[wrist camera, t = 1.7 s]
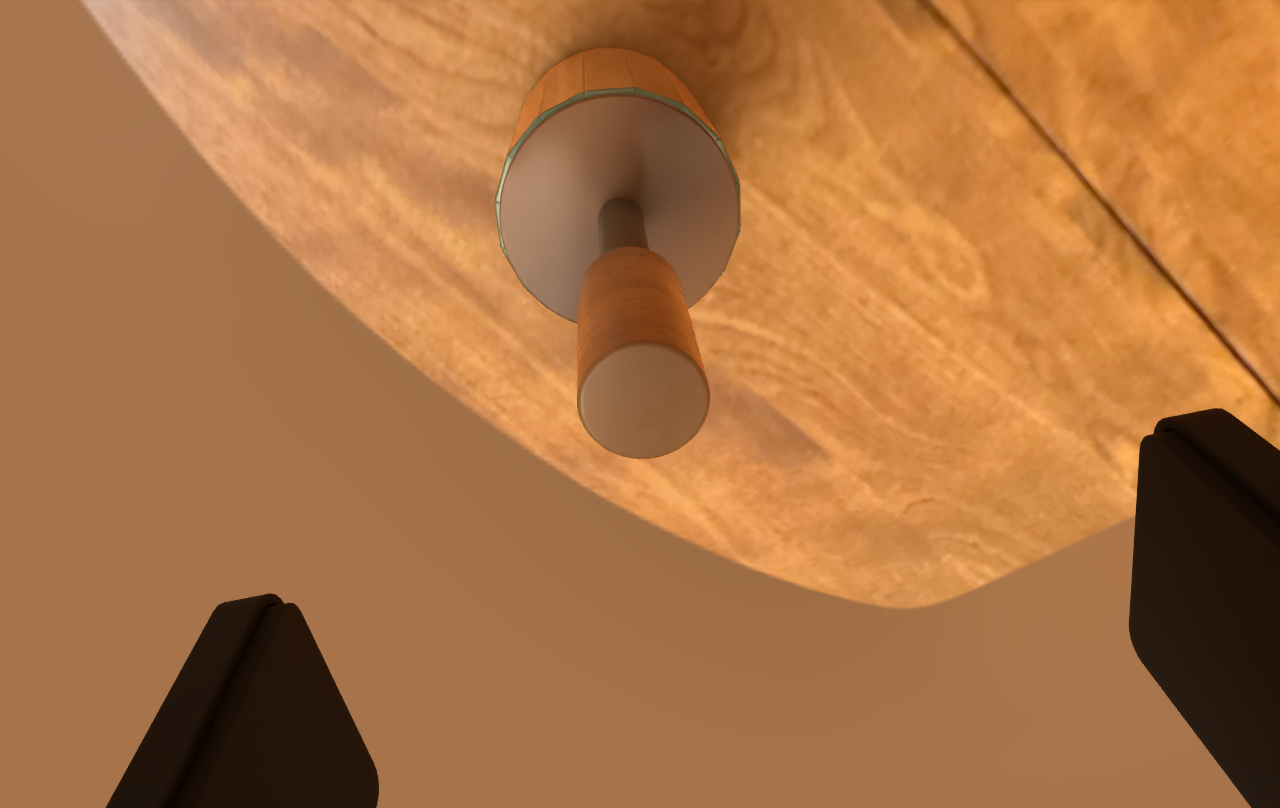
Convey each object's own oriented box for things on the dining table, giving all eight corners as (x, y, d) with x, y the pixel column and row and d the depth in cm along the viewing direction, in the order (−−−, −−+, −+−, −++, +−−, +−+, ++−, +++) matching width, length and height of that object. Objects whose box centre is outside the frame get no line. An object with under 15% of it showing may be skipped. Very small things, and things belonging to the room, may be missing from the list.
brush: (497, 210, 33) (408, 513, 16) (547, 26, 30) (505, 154, 13) (666, 262, 34) (751, 595, 17) (729, 90, 31) (903, 283, 14)
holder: (496, 204, 34) (469, 291, 26) (547, 19, 31) (534, 51, 23) (666, 257, 35) (691, 355, 27) (729, 84, 32) (778, 136, 24)
